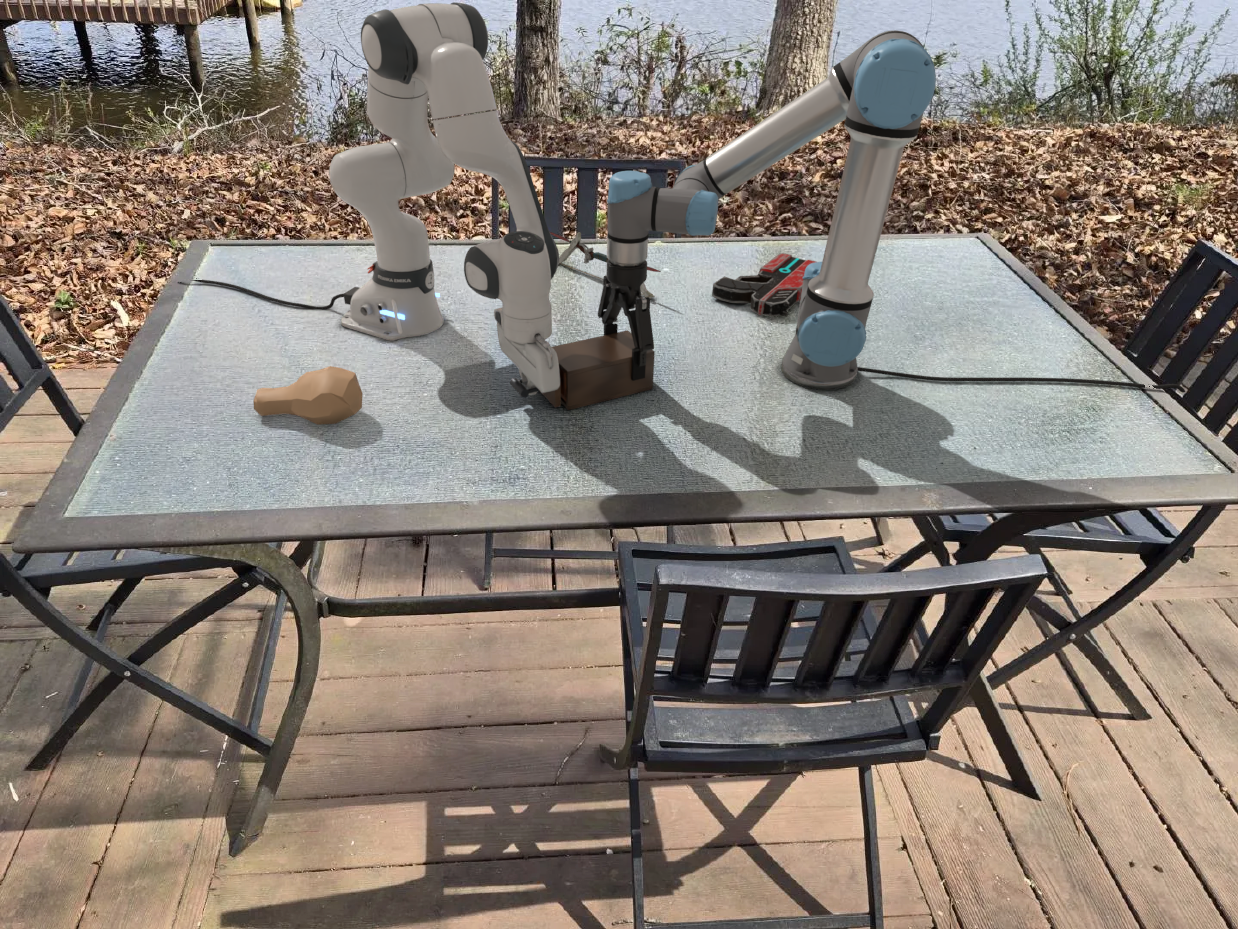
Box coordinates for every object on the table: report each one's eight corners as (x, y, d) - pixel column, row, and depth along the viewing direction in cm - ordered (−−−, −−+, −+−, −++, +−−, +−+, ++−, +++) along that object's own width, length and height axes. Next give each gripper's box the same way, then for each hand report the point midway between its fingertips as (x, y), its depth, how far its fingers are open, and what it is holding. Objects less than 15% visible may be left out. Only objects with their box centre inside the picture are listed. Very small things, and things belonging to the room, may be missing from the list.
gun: (708, 284, 207) (784, 305, 199) (760, 245, 229) (831, 262, 221) (706, 302, 209) (781, 323, 201) (758, 261, 231) (828, 278, 223)
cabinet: (568, 410, 166) (567, 371, 161) (544, 386, 173) (543, 348, 169) (652, 389, 173) (654, 351, 169) (626, 366, 181) (627, 330, 176)
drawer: (526, 414, 162) (524, 384, 158) (506, 392, 169) (504, 362, 165) (636, 387, 172) (637, 358, 168) (613, 367, 179) (613, 338, 175)
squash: (362, 431, 158) (346, 392, 151) (255, 439, 159) (235, 401, 153) (374, 393, 165) (360, 354, 159) (272, 401, 167) (254, 364, 161)
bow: (662, 300, 209) (664, 260, 204) (657, 302, 208) (659, 262, 203) (550, 258, 231) (549, 220, 225) (545, 259, 230) (544, 222, 224)
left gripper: (568, 343, 152) (569, 412, 159) (521, 301, 167) (523, 366, 174) (535, 350, 149) (537, 420, 157) (490, 306, 164) (494, 372, 172)
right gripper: (677, 277, 155) (670, 387, 167) (614, 237, 171) (612, 339, 184) (641, 284, 151) (636, 396, 164) (580, 242, 168) (580, 346, 180)
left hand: (529, 391), depth 166 cm, fingers closed
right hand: (623, 366), depth 174 cm, fingers closed on cabinet, 11 cm apart
